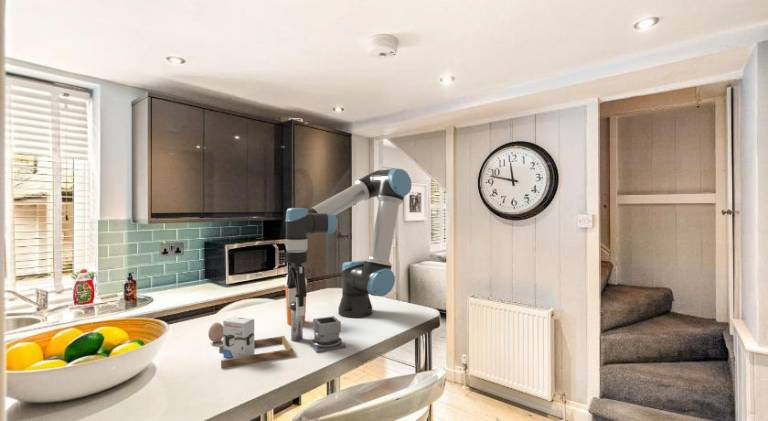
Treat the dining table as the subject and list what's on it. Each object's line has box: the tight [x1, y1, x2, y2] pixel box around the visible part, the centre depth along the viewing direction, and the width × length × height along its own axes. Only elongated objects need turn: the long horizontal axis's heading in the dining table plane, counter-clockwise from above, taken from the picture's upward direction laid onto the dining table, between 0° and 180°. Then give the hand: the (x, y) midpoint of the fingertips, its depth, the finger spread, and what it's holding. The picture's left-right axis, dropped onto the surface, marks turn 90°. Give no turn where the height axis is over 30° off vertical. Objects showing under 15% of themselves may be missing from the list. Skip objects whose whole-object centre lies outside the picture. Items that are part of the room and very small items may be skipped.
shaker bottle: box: [284, 274, 308, 326], centre depth 154 cm, size 9×9×20 cm
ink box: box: [222, 316, 256, 359], centre depth 121 cm, size 8×5×12 cm, turn 70°
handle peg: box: [290, 302, 304, 342], centre depth 136 cm, size 5×5×13 cm
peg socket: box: [308, 315, 347, 354], centre depth 130 cm, size 10×10×8 cm
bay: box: [218, 335, 294, 369], centre depth 123 cm, size 21×14×2 cm, turn 116°
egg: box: [207, 321, 223, 343], centre depth 133 cm, size 5×5×7 cm
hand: (295, 310), depth 135 cm, fingers open, 13 cm apart
